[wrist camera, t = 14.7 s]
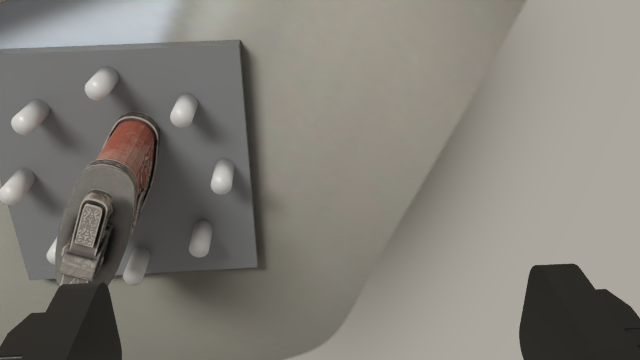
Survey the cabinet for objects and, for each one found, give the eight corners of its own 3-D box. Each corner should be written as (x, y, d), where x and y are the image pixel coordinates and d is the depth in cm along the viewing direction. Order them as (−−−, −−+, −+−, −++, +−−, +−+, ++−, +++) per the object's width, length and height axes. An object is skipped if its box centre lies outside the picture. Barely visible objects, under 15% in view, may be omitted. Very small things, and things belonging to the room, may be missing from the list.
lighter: (138, 233, 39) (96, 337, 30) (84, 217, 38) (25, 320, 29) (171, 122, 36) (136, 202, 27) (114, 103, 35) (58, 179, 26)
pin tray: (-25, 50, 34) (-58, 68, 31) (240, 39, 35) (236, 56, 32) (36, 269, 41) (14, 303, 38) (258, 257, 42) (256, 289, 38)
